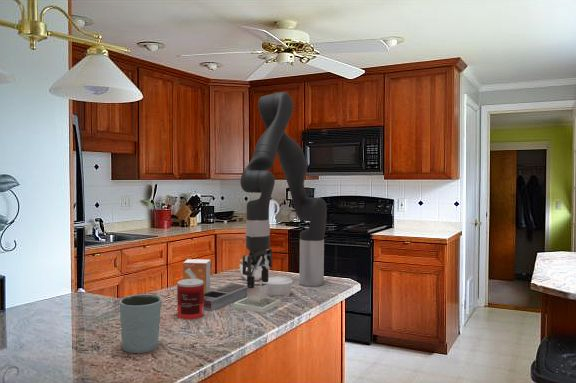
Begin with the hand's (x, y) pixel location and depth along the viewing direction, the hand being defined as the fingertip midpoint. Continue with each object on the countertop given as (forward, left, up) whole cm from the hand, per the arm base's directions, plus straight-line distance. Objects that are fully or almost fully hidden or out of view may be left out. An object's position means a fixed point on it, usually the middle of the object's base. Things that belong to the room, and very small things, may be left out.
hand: (258, 284), depth 155 cm
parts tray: (0, 0, -8) cm, 8 cm away
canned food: (+18, -12, -8) cm, 23 cm away
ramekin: (-18, -3, -8) cm, 20 cm away
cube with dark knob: (0, 0, -7) cm, 7 cm away
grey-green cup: (+42, -8, -8) cm, 44 cm away
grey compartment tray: (+1, -13, -8) cm, 15 cm away
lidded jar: (-34, -23, -8) cm, 42 cm away
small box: (0, -24, -8) cm, 25 cm away
